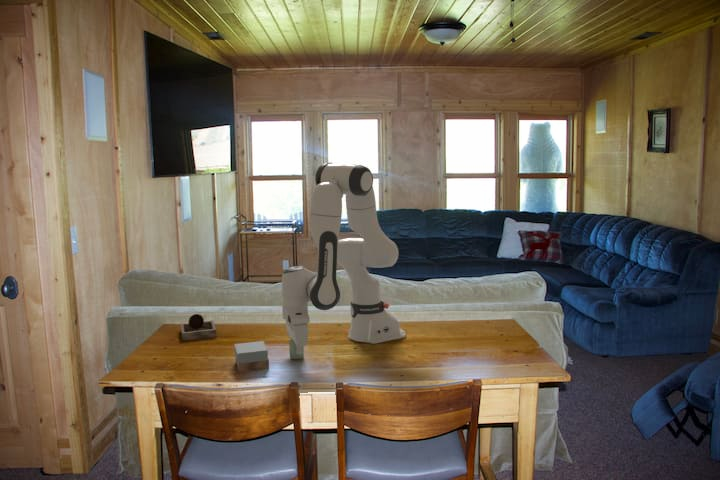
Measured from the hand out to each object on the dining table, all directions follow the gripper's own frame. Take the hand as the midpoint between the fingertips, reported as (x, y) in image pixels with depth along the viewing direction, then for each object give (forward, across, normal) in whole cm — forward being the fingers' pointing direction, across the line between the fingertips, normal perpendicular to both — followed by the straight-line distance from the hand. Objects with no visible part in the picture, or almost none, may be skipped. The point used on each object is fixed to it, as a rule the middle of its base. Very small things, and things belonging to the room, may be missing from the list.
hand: (296, 350), depth 203 cm
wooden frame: (+3, -41, -32) cm, 52 cm away
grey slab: (0, +1, -16) cm, 16 cm away
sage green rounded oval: (+2, 0, 0) cm, 2 cm away
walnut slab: (+3, +1, -16) cm, 16 cm away
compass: (+3, -42, -30) cm, 52 cm away
